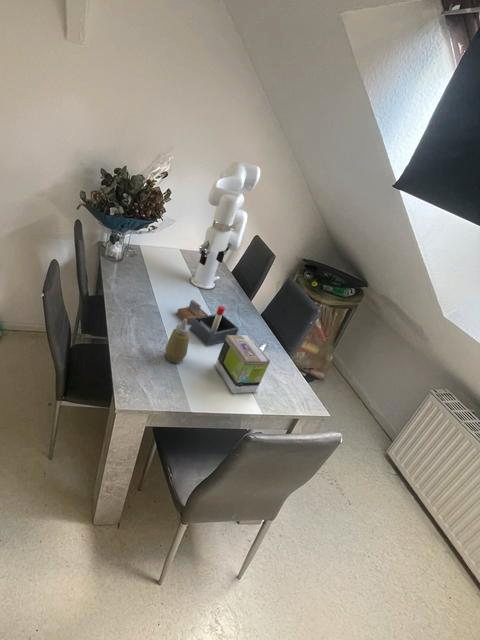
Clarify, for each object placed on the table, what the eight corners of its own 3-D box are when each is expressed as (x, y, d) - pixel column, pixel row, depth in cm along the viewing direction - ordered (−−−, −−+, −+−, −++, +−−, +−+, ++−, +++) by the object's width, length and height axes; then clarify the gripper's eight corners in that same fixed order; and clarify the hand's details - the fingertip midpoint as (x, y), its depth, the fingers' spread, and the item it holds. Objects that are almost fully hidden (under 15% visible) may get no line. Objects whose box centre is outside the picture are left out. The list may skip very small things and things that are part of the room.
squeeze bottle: (179, 368, 141) (191, 329, 132) (159, 358, 145) (170, 319, 135) (187, 357, 148) (199, 319, 138) (168, 348, 151) (179, 310, 141)
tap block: (194, 309, 179) (196, 304, 178) (207, 321, 172) (209, 315, 171) (175, 313, 174) (177, 307, 172) (188, 325, 167) (190, 319, 166)
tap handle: (188, 308, 173) (190, 299, 171) (190, 308, 174) (193, 299, 171) (195, 315, 169) (198, 306, 167) (198, 314, 170) (201, 305, 168)
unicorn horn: (273, 349, 162) (277, 340, 159) (250, 374, 145) (254, 364, 143) (263, 343, 164) (267, 334, 162) (239, 367, 148) (243, 357, 145)
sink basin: (217, 323, 172) (220, 313, 169) (234, 339, 164) (238, 328, 161) (189, 329, 165) (193, 318, 162) (206, 345, 156) (210, 334, 153)
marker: (213, 330, 165) (221, 305, 158) (216, 334, 163) (226, 308, 156) (208, 331, 164) (217, 306, 157) (212, 335, 162) (221, 309, 155)
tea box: (256, 392, 137) (271, 361, 129) (231, 393, 134) (245, 361, 126) (237, 364, 149) (250, 334, 141) (214, 365, 146) (225, 334, 139)
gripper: (231, 220, 164) (219, 256, 173) (200, 223, 156) (189, 260, 165) (243, 228, 159) (230, 264, 168) (212, 231, 151) (200, 269, 160)
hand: (210, 262), depth 167 cm, fingers open, 9 cm apart
